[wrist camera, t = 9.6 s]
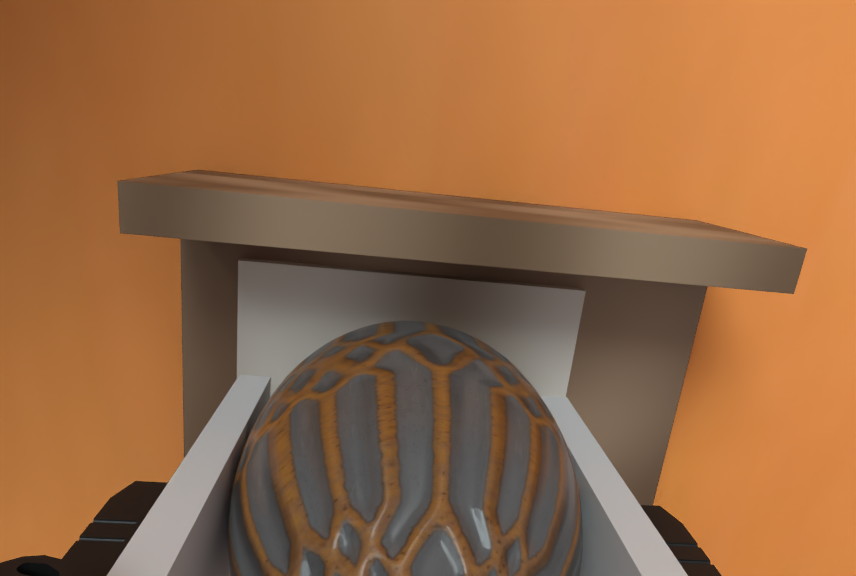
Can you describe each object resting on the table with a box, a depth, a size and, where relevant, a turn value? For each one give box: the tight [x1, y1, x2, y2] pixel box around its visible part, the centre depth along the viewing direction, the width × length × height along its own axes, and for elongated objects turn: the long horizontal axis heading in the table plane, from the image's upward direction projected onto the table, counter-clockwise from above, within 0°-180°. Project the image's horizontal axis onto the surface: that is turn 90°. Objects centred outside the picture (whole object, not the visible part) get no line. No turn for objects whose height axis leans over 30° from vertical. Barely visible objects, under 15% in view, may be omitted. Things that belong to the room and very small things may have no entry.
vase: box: [228, 321, 583, 576], centre depth 10 cm, size 7×7×9 cm
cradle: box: [118, 170, 807, 576], centre depth 14 cm, size 14×12×4 cm
